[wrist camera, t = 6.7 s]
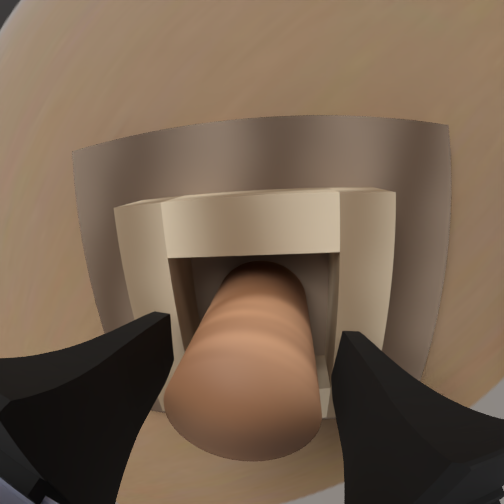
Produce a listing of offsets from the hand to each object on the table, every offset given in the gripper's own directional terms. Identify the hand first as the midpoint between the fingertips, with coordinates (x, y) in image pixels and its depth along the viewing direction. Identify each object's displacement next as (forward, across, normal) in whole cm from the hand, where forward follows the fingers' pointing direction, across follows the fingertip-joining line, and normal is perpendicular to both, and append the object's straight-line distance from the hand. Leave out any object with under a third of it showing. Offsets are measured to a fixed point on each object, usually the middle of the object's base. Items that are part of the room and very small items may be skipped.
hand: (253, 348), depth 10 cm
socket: (+5, 0, 0) cm, 5 cm away
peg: (+4, 0, 0) cm, 4 cm away
